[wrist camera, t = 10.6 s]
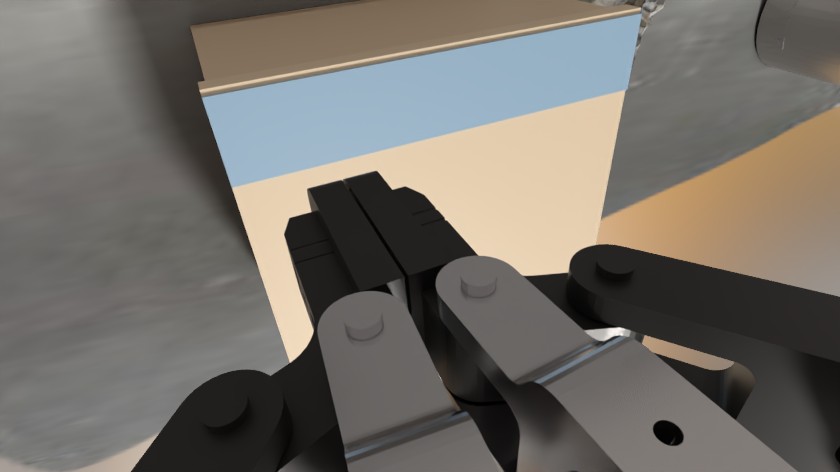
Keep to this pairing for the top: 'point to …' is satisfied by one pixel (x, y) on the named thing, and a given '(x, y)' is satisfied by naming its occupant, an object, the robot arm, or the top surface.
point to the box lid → (436, 139)
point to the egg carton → (649, 3)
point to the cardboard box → (355, 29)
